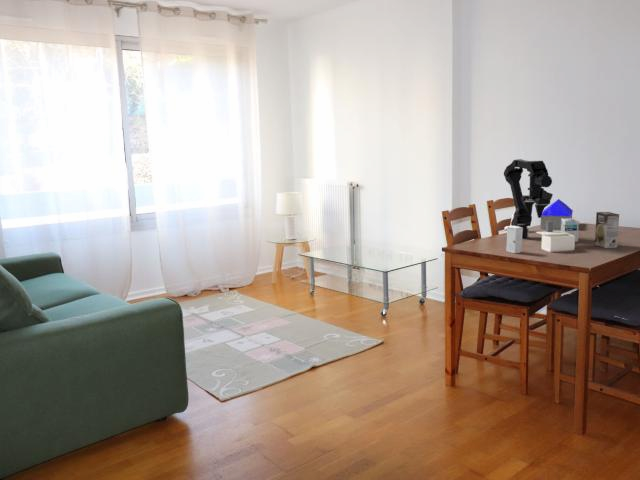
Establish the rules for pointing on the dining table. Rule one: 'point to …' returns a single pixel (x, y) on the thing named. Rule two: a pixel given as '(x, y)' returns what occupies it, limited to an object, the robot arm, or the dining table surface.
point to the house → (556, 214)
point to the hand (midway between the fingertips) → (534, 216)
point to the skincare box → (514, 239)
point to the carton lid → (551, 230)
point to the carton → (558, 243)
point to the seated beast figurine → (511, 220)
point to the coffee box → (606, 229)
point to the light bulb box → (570, 227)
